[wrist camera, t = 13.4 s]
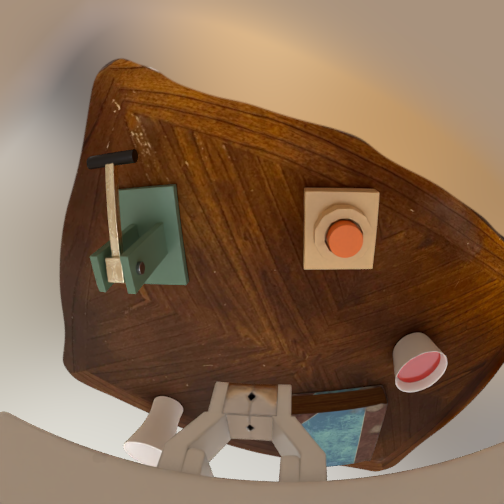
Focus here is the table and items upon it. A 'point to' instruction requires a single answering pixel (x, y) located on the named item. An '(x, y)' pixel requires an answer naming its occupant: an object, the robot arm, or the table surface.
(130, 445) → the cup
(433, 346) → the white round tub
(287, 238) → the table surface
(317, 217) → the call button
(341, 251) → the button
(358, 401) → the book
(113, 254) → the lever handle
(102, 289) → the green lever stand
